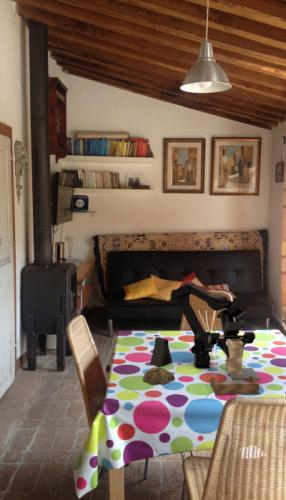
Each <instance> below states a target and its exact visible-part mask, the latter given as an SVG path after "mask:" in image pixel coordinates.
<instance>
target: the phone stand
mask: <svg viewBox="0 0 286 500" xmlns="http://www.w3.org/2000/svg"><path fill="white" fill-rule="evenodd" d="M149 363H150V364H149V365H152V366H155V367H158V368H163V367H165V366H167V365H171V364H173V363H174V361H173V358H172V355H171V350H170V346H169V340H168V339H167V338H163V337H160V336H156V337H155V339H154V347H153V350H152V354H151V358H150V362H149Z"/></svg>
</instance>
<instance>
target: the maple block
mask: <svg viewBox="0 0 286 500" xmlns="http://www.w3.org/2000/svg"><path fill="white" fill-rule="evenodd" d="M226 344H227V348H228V351H229V356H230V357H229V358H228V357H227V356H226V360H225V363H226V364H225V371H226V372H227V374H228V375H229V376H230V375H241V374H242V368H243V357H242V355H243V356H244V351H243V342H242V341H241V340H240V339H227V340H226Z"/></svg>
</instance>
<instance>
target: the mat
mask: <svg viewBox="0 0 286 500" xmlns="http://www.w3.org/2000/svg"><path fill="white" fill-rule="evenodd" d="M229 376H230V378H231V379H232V380H234V381H237V380H238V381H239V380H249V376H252V377H253V378H254V379H255V380H261V376H260V375H259V374H258V373H257V372H256V371H255V369H254V368H253V367H242V374H241V375H229Z"/></svg>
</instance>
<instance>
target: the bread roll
mask: <svg viewBox="0 0 286 500" xmlns="http://www.w3.org/2000/svg"><path fill="white" fill-rule="evenodd" d="M175 378H176V377H175V375H174V374H173V373H172V372H171V371H169V370H167V369H165V368H163V367H157V366H155V367H151V368H150V369H148V370H147V371H146V372H145V373H144V375H143V377H142V380H143V381H144V382H147V383H148V384H149V385H151V386H158V385H161V386H163V385H167V384H169V383H171V382H174V381H175Z"/></svg>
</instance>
